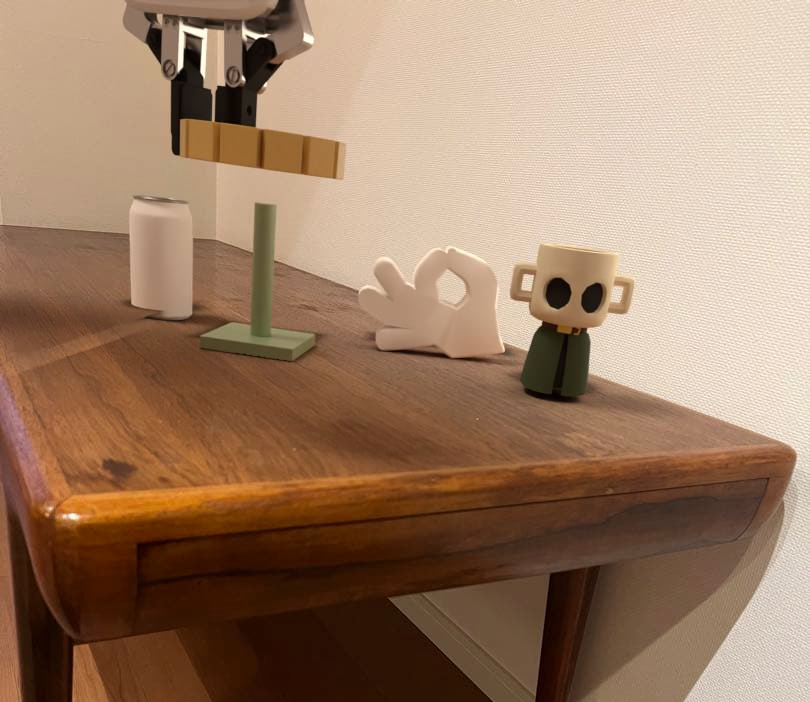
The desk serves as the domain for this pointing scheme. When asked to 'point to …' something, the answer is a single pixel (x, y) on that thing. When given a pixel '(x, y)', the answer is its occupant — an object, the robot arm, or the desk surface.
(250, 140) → the ring
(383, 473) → the desk surface
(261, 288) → the post
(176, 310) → the can
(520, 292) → the character mug
